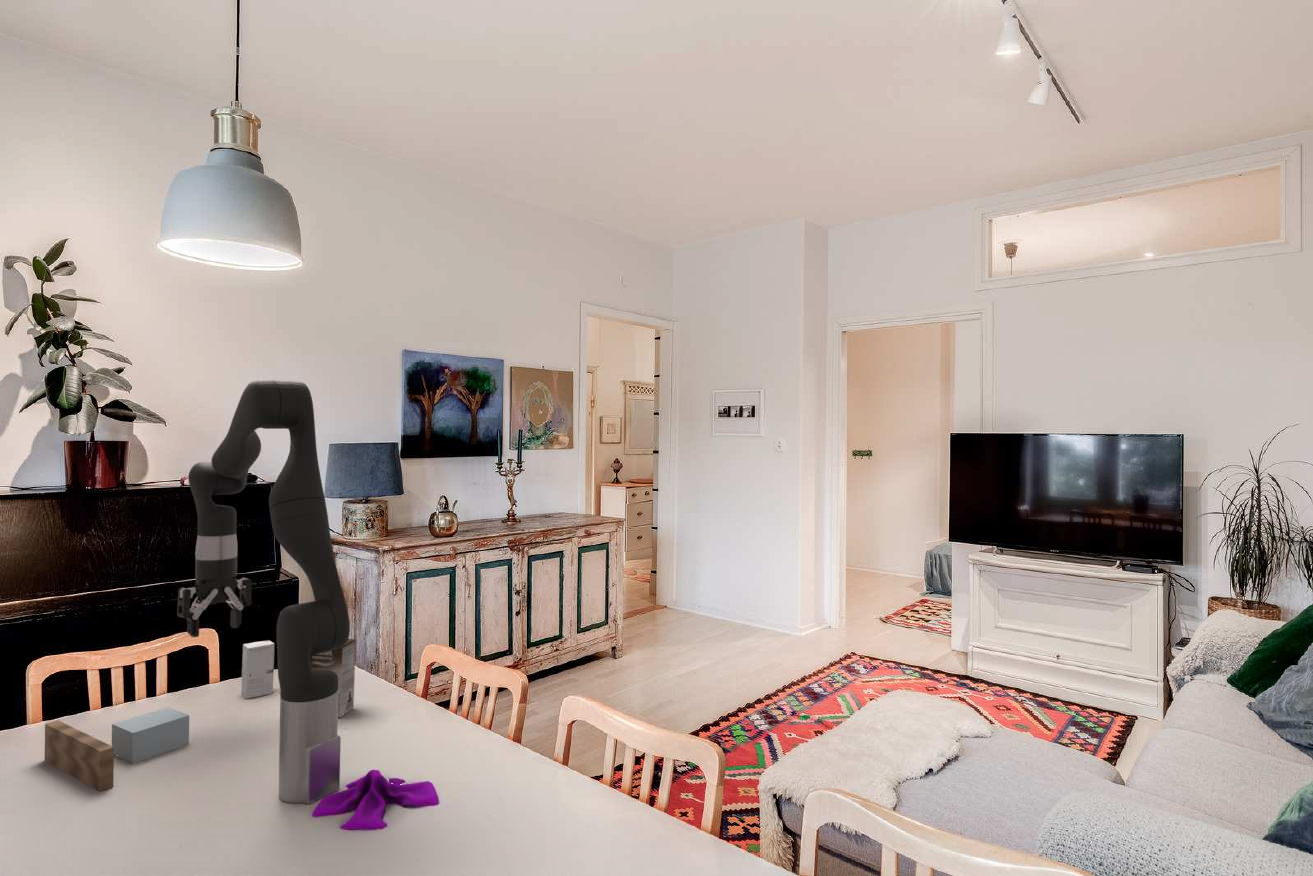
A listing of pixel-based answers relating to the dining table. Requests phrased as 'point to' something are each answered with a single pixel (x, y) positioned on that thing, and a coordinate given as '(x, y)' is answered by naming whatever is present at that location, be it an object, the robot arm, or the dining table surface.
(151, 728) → the block
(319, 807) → the cloth
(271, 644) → the skincare box
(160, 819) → the dining table surface
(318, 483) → the robot arm
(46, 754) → the plank
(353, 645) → the coffee box
